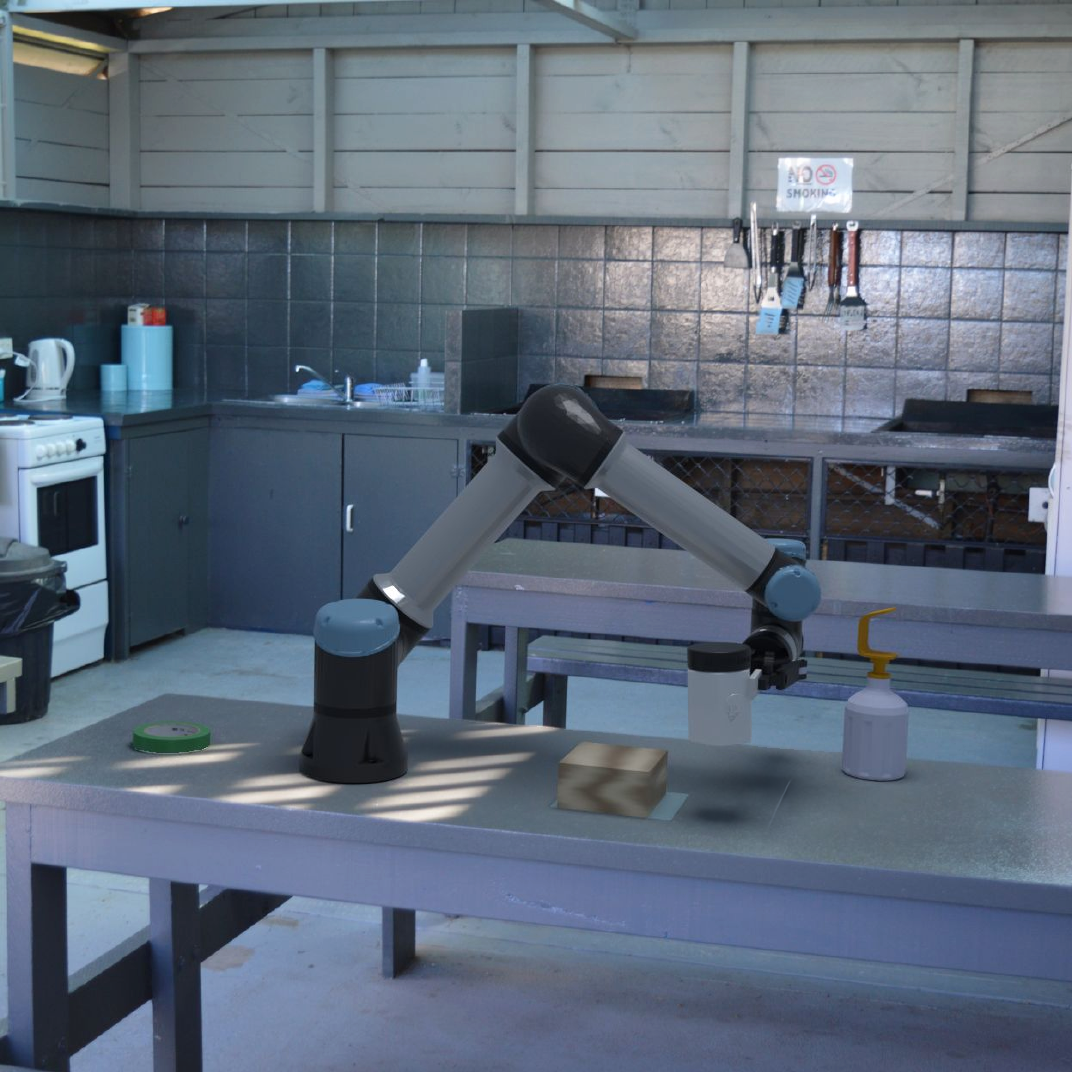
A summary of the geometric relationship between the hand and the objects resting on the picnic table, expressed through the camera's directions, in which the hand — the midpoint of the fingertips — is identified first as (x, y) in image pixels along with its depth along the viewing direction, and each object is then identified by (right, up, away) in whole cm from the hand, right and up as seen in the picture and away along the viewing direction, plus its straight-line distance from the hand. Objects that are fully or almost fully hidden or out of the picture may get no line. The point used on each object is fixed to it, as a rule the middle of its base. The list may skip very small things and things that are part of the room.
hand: (741, 688), depth 187 cm
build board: (-15, -16, +10) cm, 24 cm away
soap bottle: (+23, -16, +30) cm, 41 cm away
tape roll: (-80, -12, +33) cm, 87 cm away
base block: (-16, -16, +10) cm, 25 cm away
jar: (-2, -7, +4) cm, 9 cm away
